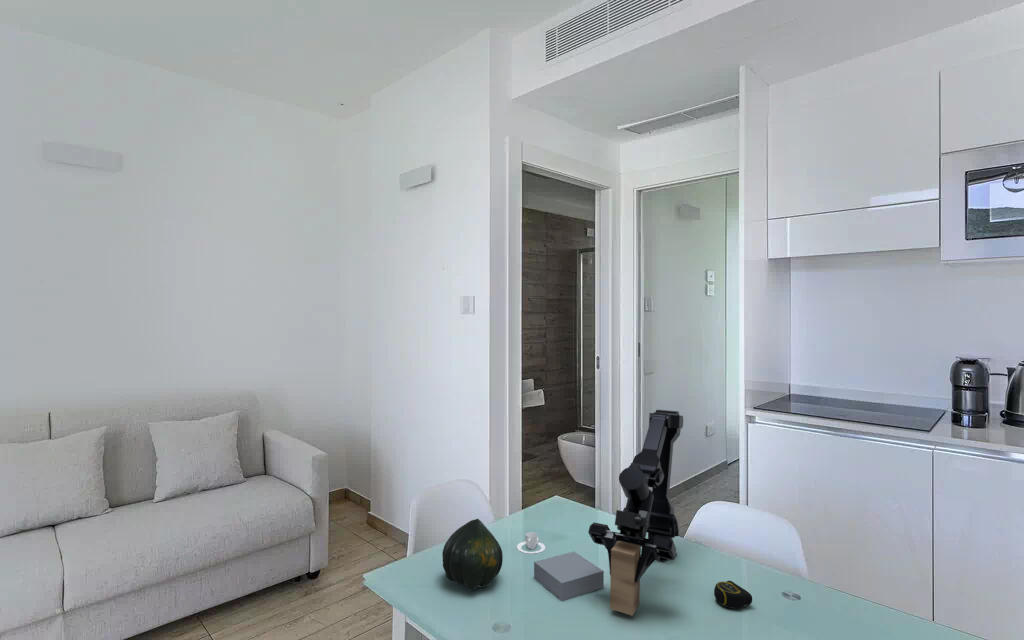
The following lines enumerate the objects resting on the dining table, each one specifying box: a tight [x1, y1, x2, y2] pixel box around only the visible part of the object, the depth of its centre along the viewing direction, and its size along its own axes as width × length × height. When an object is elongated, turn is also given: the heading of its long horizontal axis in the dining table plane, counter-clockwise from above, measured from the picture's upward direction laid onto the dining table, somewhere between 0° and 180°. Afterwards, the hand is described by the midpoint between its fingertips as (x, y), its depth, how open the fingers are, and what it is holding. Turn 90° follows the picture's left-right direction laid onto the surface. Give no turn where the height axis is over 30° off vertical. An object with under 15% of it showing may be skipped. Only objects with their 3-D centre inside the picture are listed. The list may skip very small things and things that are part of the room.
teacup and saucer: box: [516, 531, 546, 555], centre depth 149 cm, size 9×8×4 cm
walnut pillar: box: [609, 541, 642, 617], centre depth 116 cm, size 5×5×13 cm
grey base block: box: [533, 550, 605, 602], centre depth 129 cm, size 12×12×4 cm
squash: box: [441, 518, 504, 591], centre depth 130 cm, size 14×15×15 cm
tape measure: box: [713, 580, 753, 609], centre depth 119 cm, size 7×7×4 cm
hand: (623, 579), depth 114 cm, fingers closed on walnut pillar, 5 cm apart
